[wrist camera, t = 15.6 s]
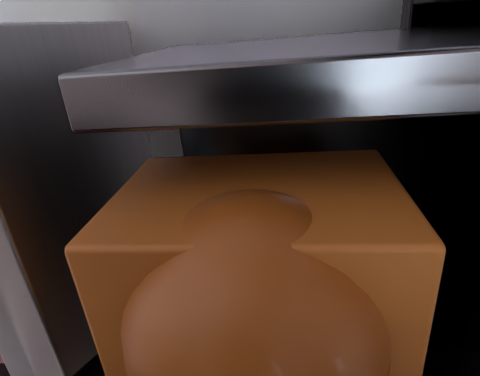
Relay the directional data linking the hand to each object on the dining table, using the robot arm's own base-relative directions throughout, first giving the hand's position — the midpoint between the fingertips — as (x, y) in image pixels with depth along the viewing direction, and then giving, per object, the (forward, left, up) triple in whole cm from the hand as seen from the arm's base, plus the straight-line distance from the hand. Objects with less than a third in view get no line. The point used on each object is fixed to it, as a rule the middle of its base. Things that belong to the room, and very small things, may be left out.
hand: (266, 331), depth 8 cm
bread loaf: (0, 0, -1) cm, 1 cm away
